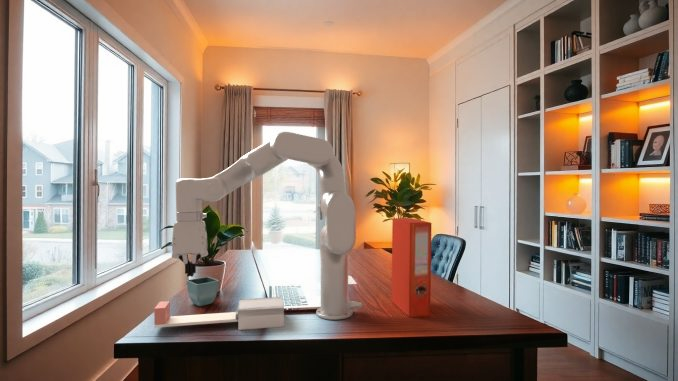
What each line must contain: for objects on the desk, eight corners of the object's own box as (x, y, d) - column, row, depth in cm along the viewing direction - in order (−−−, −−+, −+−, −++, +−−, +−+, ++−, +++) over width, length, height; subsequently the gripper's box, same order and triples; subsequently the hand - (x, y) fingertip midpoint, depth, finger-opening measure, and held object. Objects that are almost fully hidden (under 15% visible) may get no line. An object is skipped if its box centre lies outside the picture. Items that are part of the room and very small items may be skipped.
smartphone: (341, 284, 175) (335, 276, 190) (341, 286, 176) (335, 277, 190) (357, 283, 177) (350, 275, 191) (357, 285, 177) (350, 277, 192)
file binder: (411, 300, 152) (411, 217, 151) (431, 315, 135) (431, 222, 134) (391, 302, 150) (391, 218, 149) (408, 317, 133) (409, 222, 133)
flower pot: (219, 303, 148) (219, 280, 148) (197, 309, 142) (197, 284, 142) (207, 299, 154) (207, 276, 154) (186, 304, 148) (185, 280, 148)
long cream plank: (243, 313, 131) (243, 296, 131) (243, 321, 125) (243, 302, 124) (159, 319, 126) (159, 301, 126) (154, 327, 119) (154, 308, 119)
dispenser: (281, 314, 137) (281, 296, 136) (284, 326, 125) (283, 307, 125) (236, 317, 133) (236, 299, 133) (235, 330, 122) (235, 310, 122)
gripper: (215, 215, 129) (216, 271, 129) (166, 217, 126) (167, 274, 126) (212, 217, 122) (214, 276, 122) (161, 219, 119) (162, 280, 119)
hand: (190, 275), depth 124 cm, fingers closed
